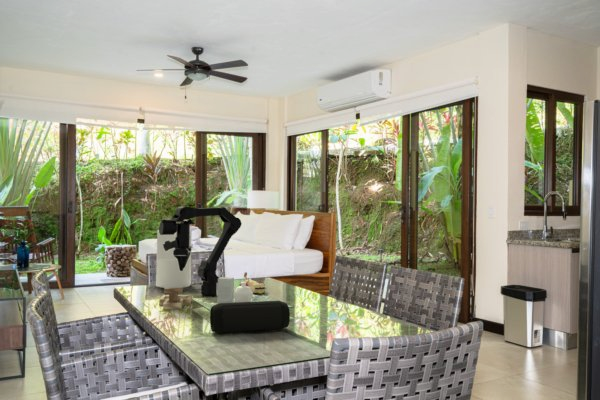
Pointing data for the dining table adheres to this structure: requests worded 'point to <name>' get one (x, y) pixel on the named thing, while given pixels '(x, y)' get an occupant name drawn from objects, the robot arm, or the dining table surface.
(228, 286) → the skincare box
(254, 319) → the portable speaker
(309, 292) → the dining table surface
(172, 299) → the tan brick
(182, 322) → the dining table surface
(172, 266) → the cylinder
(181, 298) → the keyhole cradle
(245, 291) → the white vase
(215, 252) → the robot arm
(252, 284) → the cat figure
